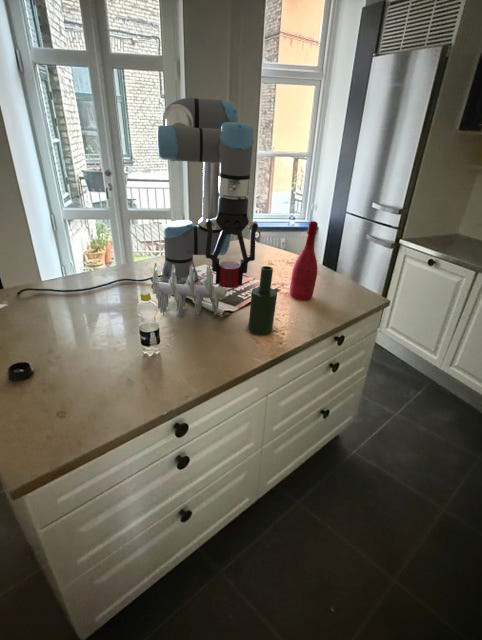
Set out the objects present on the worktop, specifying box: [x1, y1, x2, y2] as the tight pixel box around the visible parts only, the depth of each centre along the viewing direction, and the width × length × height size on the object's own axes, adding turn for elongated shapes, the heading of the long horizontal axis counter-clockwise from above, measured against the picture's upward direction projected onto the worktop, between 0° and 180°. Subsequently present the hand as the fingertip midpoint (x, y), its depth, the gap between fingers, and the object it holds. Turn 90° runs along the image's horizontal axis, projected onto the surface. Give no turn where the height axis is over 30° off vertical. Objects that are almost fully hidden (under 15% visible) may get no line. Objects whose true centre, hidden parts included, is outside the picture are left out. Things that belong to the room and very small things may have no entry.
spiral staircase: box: [152, 262, 227, 317], centre depth 129 cm, size 18×18×25 cm
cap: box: [217, 260, 241, 289], centre depth 104 cm, size 6×6×6 cm
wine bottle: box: [289, 220, 318, 301], centre depth 144 cm, size 10×10×30 cm
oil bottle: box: [247, 265, 278, 336], centre depth 121 cm, size 8×8×22 cm
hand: (228, 282), depth 105 cm, fingers closed on cap, 6 cm apart
